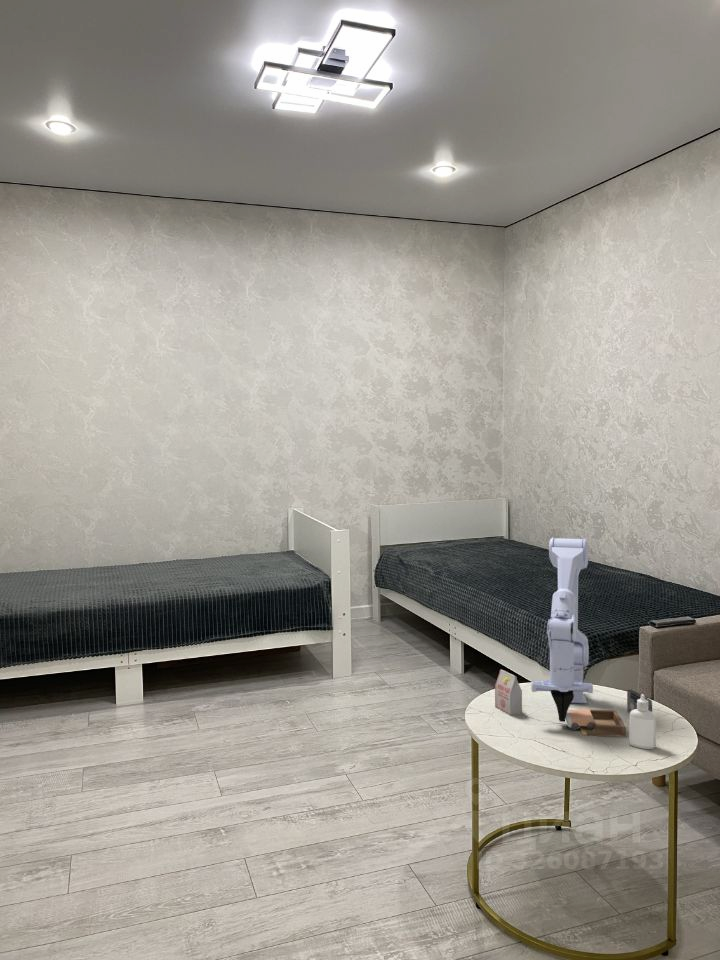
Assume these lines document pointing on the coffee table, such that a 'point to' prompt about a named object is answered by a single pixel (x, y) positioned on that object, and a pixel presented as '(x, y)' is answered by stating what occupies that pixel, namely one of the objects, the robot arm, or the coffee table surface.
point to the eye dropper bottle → (642, 726)
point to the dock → (605, 724)
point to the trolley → (580, 719)
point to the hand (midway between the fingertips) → (561, 720)
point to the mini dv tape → (635, 701)
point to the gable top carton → (508, 694)
